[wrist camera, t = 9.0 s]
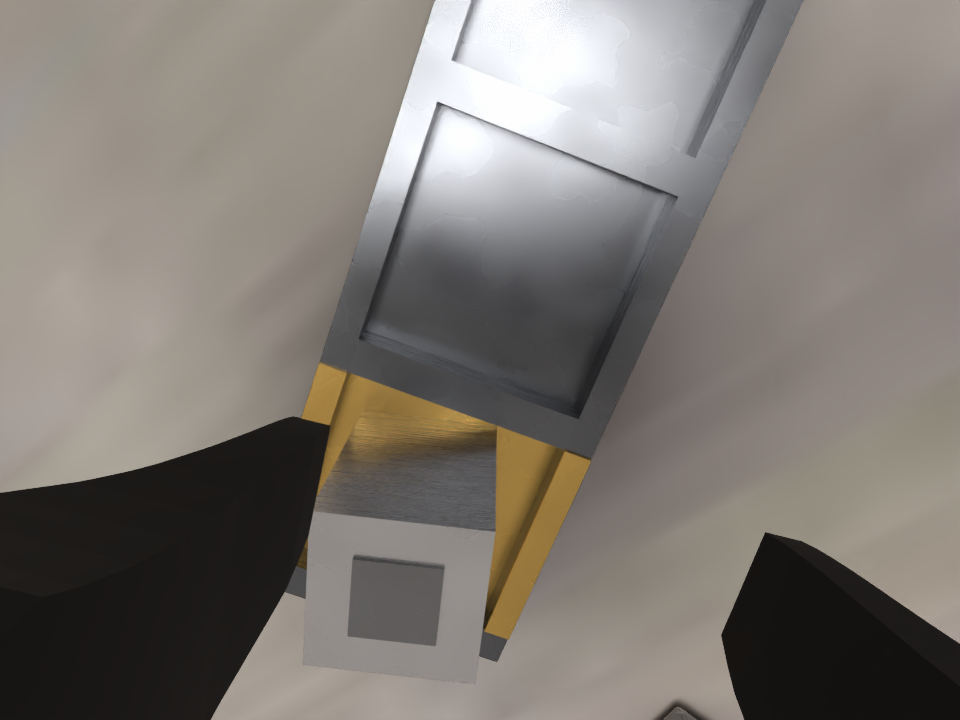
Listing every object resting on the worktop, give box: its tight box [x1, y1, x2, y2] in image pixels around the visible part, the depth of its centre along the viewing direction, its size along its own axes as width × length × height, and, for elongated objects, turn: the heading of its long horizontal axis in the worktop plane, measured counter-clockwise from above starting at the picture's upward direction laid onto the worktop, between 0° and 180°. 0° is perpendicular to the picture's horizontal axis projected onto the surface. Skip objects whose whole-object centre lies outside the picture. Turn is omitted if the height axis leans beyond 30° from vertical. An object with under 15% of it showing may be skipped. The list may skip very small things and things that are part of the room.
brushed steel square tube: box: [303, 410, 497, 684], centre depth 18 cm, size 4×4×6 cm
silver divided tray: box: [285, 0, 803, 662], centre depth 19 cm, size 8×24×2 cm, turn 159°
